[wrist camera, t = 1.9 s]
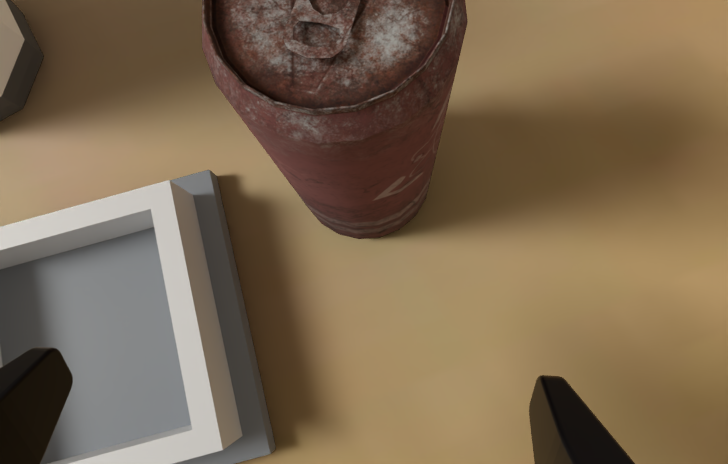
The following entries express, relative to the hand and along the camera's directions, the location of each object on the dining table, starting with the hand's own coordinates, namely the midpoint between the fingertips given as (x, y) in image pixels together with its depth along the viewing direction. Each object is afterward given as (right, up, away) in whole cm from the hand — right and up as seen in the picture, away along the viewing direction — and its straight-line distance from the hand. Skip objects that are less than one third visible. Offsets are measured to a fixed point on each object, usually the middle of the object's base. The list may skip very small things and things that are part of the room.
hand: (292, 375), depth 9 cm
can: (+1, +5, +15) cm, 16 cm away
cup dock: (-10, -2, +14) cm, 18 cm away
